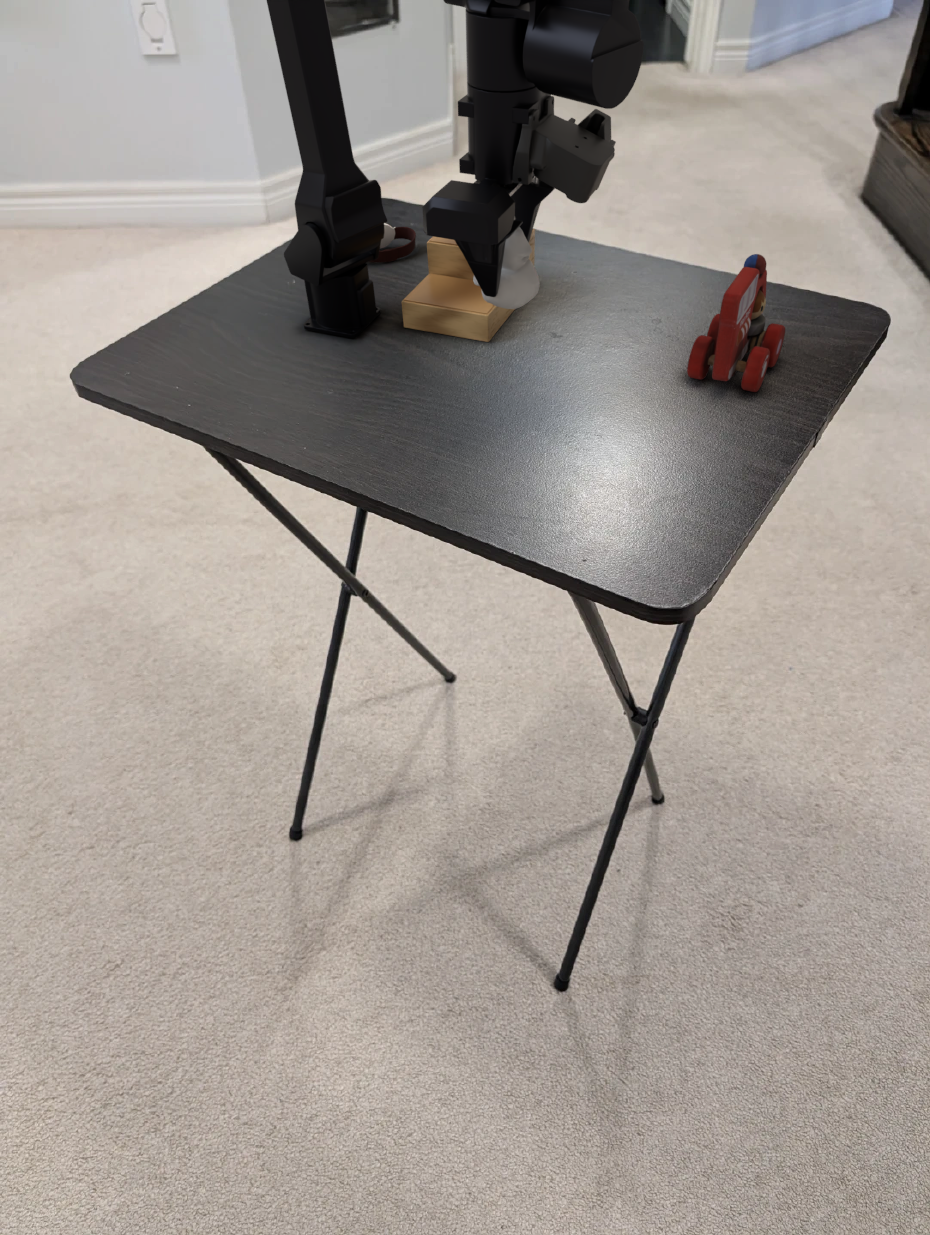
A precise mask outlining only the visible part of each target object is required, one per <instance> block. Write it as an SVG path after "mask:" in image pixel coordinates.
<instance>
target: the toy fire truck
mask: <svg viewBox="0 0 930 1235" xmlns="http://www.w3.org/2000/svg"><path fill="white" fill-rule="evenodd" d="M767 279H768V271H767V260H766V258H765V256H764V255H762V254H760V253H754V254H751V255H749V256H748V257H747V258H746V259H745V261H744V263H743V267H742V268H741V269H740V271H739V272H738V273H737V275H736V276H735V278H734V280H733V281H732V282H731V284H730V285H729V286H728V288H727V289H726V290H725V291H724V293H723V296H722V300H721V305H720V312H719V313H716V314H715V315H714V316H713V318H712V320H711V321H710V323H709V327H708V330H707V334H706V335H703V334H700V335H698V336H697V337H696V338H695V339H694V342H693V344H692V347H691V349H690V353H689V357H688V361H687V362H688V363H687V368H686V373H687V376H688V377H689V378H691V379H695V380H700V381H701V380H704V379H705V378H706V377H707V375H708V373H709V371H710V368H711V367H712V372H711V378H712V380H715V381H721V382H728V381H730V380H731V378H732V377H734V376H735V375H736V373H737V372H741V373H743V374H742V377H741V385H740V387H741V389H742V390H743V391H748V392H751V393H757V392H758V391H759V390H760V388H761V387H762V384H763V381H764V380H765V375H766V373H767V370H768V368H773V367H774V366H775V365H776V364H777V361H778V359H779V357H780V355H781V352H782V348H783V345H784V341H785V335H786V326H785V325H783V324H779V323H772V322H771V323H770V324H768V325H767V327H766V322H767V320H766V319H767V318H766V316H765V315H764V311H765V309H766V304H767V300H766V298H767V297H766V296H767ZM765 327H766V329H765ZM747 353H749V354H748V356H747V360H746V361H745V360H743V358H744V357H745V355H746V354H747Z"/></svg>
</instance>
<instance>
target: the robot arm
mask: <svg viewBox="0 0 930 1235" xmlns="http://www.w3.org/2000/svg"><path fill="white" fill-rule="evenodd" d="M443 2H444V3H445V4H447V5H451V6H456V7H461V8H465V40H466V41H465V45H466V46H465V50H466V51H465V52H466V54H465V55H466V94H465V95H464V96H463V97H462V98H460V99H459V100H458V101H457V117H461V118H462V117H463V118H467V146H468V148H467V149H468V150H467V152H466V153H465V154H464V155H463V156H462V157H460V158H459V162H458V163H459V165H458V166H459V167H458V168H459V173H460V174H465V175H472V176H474V179H475V181H474V182H467V181H459V180H453V179H451V180H449V181H448V182H447V183H446V184H445V185H444V186H442V187H441V188H440V189H439V190H437V191H436V192H435V194H433V195H432V197H430V199H429V200H428V201H426V202H425V204H424V205H422V207H421V208H422V226H423V232H424V233H425V235H426V236H429V237H433V236H434V237H440V238H446V239H452V240H455V242H456V244H457V245H458V247H459V248H460V250H461V252H462V253H463V255H464V257H465V259H466V261H467V262H468V264H469V266H470V268H471V270H472V272H473V274H474V276H475V278H476V280H477V282H478V284H479V286H480V288H481V289H482V291H483V293H484V295H486V296H490V297H496V295H497V294H498V289H499V283H500V278H501V270H502V263H503V256H504V249H505V242H506V239H508V238H509V237H510V236H511V235H512V234H513V233H514V232H515V231H516V230H517V229H518V228H519V227H520V228H521V229H522V231H523V233H524V235H525V237H526V239H527V241H528V243H529V241H530V237H531V234H532V230H533V229H534V227H535V223H536V219H537V216H538V212H539V210H540V206H541V204H542V202H543V201H544V200H545V199H546V198H547V197H548V196H549V195H551V193H553V191H554V190H555V189H556V190H557V191H559V192H560V193H562V194H564V195H565V197H566V198H567V199H568V200H570V201H572V202H574V203H576V204H585V203H587V202H589V200H590V198H591V197H592V195H593V194H594V193H595V192H596V191H597V190H598V189H599V188H600V185H601V183H602V181H603V180H604V177H605V174H606V171H607V169H608V168H609V165H610V163H611V161H612V160H613V159H614V158H615V155H616V153H615V150H616V149H615V146H616V144H617V141H615V140H614V139H612V117H611V115H609V114H606V113H605V112H603V111H602V110H600V109H597V108H594V109H593V110H592V111H591V112H590V113H589V114H587V116H585V117H584V118H583V119H582V120H580V122H579V123H578V124H577V123H576V122H577V121H576V118H573V117H570V118H569V119H568V120H566V119H564V118H562V117H560V116H558V115H556V114H555V97H559V98H562V99H566V100H570V101H574V102H579V103H583V104H587V105H590V106H594V107H598V108H601V109H604V110H605V109H607V110H610V109H614V108H617V107H618V106H619V105H620V104H622V103H623V102H624V101H625V100H626V98H627V97H628V96H629V94H630V93H631V91H632V89H633V87H634V86H635V83H636V81H637V78H638V76H639V73H640V70H641V66H642V63H643V62H642V61H643V55H644V47H645V45H644V44H645V42H644V40H642V31H641V27H640V23H639V20H638V19H637V16H636V15H635V13H634V12H632V11H631V10H630V9H629V7H630V6H629V5H630V0H443ZM266 5H267V9H268V14H269V18H270V24H271V28H272V33H273V36H274V41H275V46H276V50H277V55H278V60H279V64H280V69H281V74H282V78H283V84H284V87H285V93H286V97H287V101H288V105H289V110H290V114H291V120H292V123H293V124H292V125H293V128H294V129H293V130H294V132H295V133H294V134H295V137H296V142H297V147H298V152H299V155H300V160H301V166H302V173H301V177H300V180H299V184H298V187H297V192H296V196H295V199H294V210H295V218H296V224H297V231H296V233H295V235H294V236H293V238H292V239H291V241H290V243H289V244H288V246H287V248H286V249H285V251H284V252H283V257H284V260H285V264H286V265H287V268H288V271H289V273H290V275H292V276H294V277H296V278H299V279H301V280H303V281H304V288H305V293H306V299H307V300H306V301H307V304H308V305H307V306H308V310H309V311H308V312H309V316H310V317H309V318H308V319H307V320H306V321H305V322H304V323H303V324H302V325H303V329H304V330H305V331H312V332H317V333H323V334H329V335H333V336H338V337H344V338H350V339H354V338H356V337H358V336H359V335H360V334H361V333H362V332H363V331H364V330H365V329H366V328H367V327H368V326H369V325H371V323H372V322H374V321H375V319H376V318H377V317H378V316H380V314H381V308H380V307H378V306H377V305H376V304H377V302H376V296H375V295H376V294H375V287H374V281H373V279H371V278H370V275H369V267H368V266H369V265H368V263H370V262H369V261H371V260H376V259H378V257H379V251H381V250H380V249H381V248H380V244H381V239H383V238H384V223H387V222H388V218H387V216H386V213H385V209H384V206H383V201H382V187H381V186H380V183H379V181H378V180H376V179H369V178H368V177H367V175H366V174H365V173H364V172H363V171H362V169H361V168H360V167H359V165H357V163H356V161H355V158H354V152H353V149H352V143H351V137H350V131H349V126H348V121H347V120H348V119H347V116H346V110H345V109H346V108H345V104H344V98H343V92H342V87H341V82H340V77H339V71H338V65H337V60H336V54H335V49H334V44H333V38H332V32H331V26H330V22H329V16H328V10H327V5H326V0H266ZM514 217H515V220H514Z"/></svg>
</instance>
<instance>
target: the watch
mask: <svg viewBox="0 0 930 1235" xmlns="http://www.w3.org/2000/svg"><path fill="white" fill-rule="evenodd" d="M416 237H417V232H416V231H415V230H414V229H413V228H411V227H409V226H394V227H393V226H391V225H390V224H388V223H387V222H385V223H384V238H383V239H381V244H380V249H383V250H379V257H378V259H376V260H371V261H369V262H368V263H389V262H395V261H396V260H399V259H402V258H405V257H407V256H409V255H410V254H412V253H413V252H414V250H415V248H416ZM399 239H400V240H401V239H404V240H408V241H409V242H408V243H406V244H404V245H401V246H397V247H393V248H386V247H388V246H389V245H390V244H391V243H392V242H393V240H394V241H395V240H399ZM384 248H386V249H384Z"/></svg>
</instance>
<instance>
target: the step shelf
mask: <svg viewBox="0 0 930 1235" xmlns="http://www.w3.org/2000/svg"><path fill="white" fill-rule="evenodd" d="M529 245H530V246H531V249H532V253H531V254H530V257H529V260H530V261H531V262H532V263H533V265H534V266H535V256H536V255H535V252H536V249H535V248H536V229H535V228H533V230H532V234H531V237H530V241H529ZM426 250H427V254H426V255H427V267H428V274H427V275H426V276H425V277H424V278H423V279H422V280H421V281H420V282H419V283H418V284H417V285H416V286H415V287H414V288H413V289H412V290H411V291H410V292H409V293H408V294H407V295H406V296H405V297H404V298H403V299H402V300H401V311H402V312H401V313H402V321H403V328H406V329H411V330H418V331H422V332H423V331H424V332H429V333H434V334H440V335H445V336H451V337H456V338H461V339H467V340H468V339H469V340H474V341H479V342H484V343H485V342H486V343H489V342H490V341H491V340H492V338H494V336H495V335H496V333H497V332H498V331H499V330H500V329H501V327H502V326H503V325H504V323H505V322H506V321H507V320H508V319H509V317H510V316H511V315H512V313H513V312H514V311H515V310H516V309H505V308H501V307H497V306H494V305H493V304H491V303H488V302H486V301H485V300H484V298H483V296H482V291H481V288H480V286H477V285H475V284H474V282H473V277H474V274H473V272H472V270H471V268H470V266H469V264H468V262H467V261H466V259H465V257H464V255H463V253H462V252H461V250H460V248H459V247H458V245H457V244H456V242H455V240H452V239H446V238H440V237H434V236H431V238H430V239H428V241H427V242H426Z"/></svg>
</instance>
